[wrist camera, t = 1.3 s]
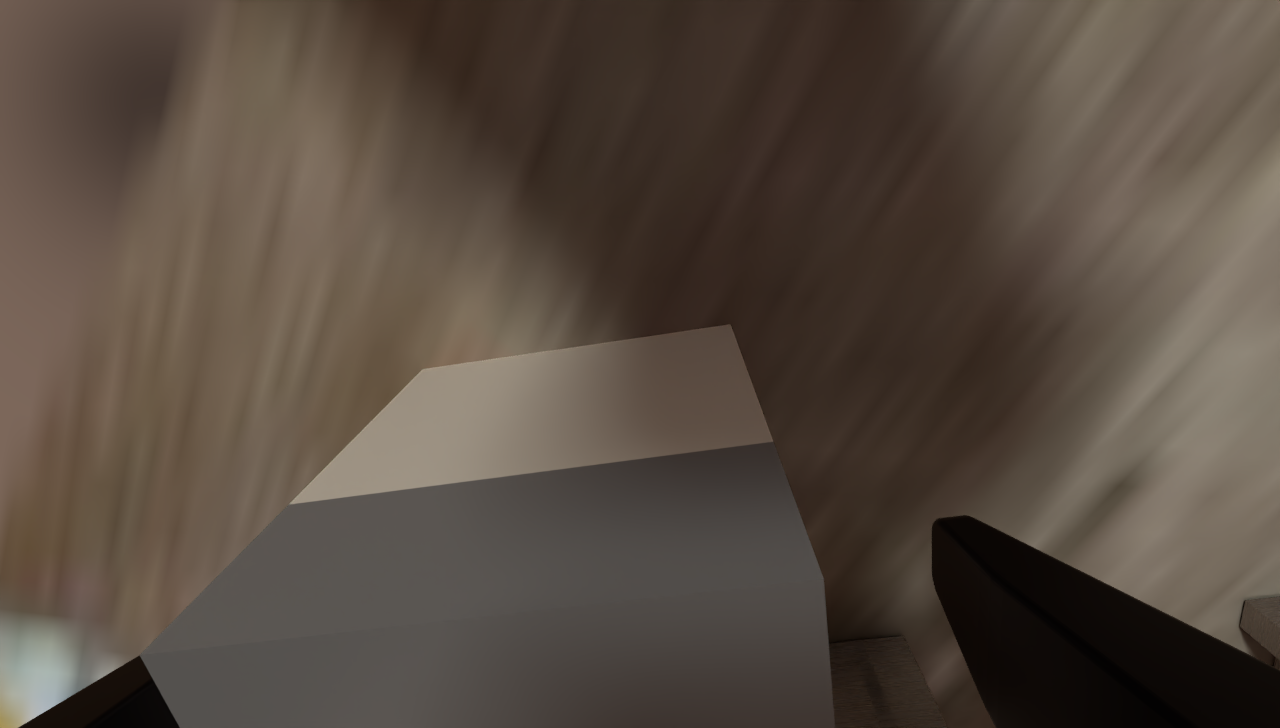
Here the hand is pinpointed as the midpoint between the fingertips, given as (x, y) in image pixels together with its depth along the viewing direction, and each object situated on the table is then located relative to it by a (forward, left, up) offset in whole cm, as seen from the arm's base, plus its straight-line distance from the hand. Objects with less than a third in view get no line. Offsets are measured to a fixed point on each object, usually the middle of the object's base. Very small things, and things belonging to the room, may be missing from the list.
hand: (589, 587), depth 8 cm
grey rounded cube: (0, 0, -3) cm, 3 cm away
